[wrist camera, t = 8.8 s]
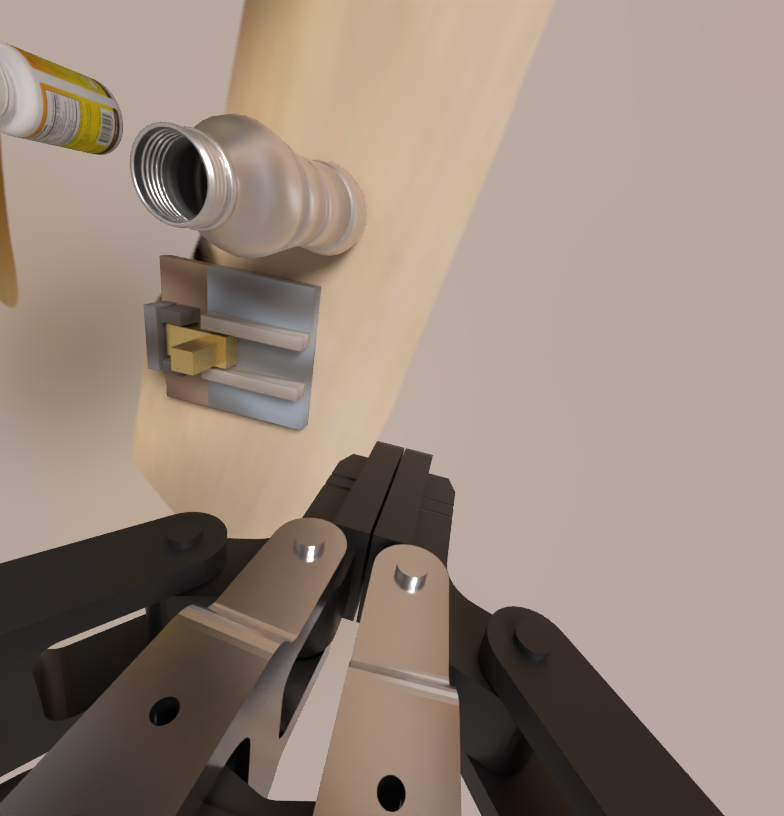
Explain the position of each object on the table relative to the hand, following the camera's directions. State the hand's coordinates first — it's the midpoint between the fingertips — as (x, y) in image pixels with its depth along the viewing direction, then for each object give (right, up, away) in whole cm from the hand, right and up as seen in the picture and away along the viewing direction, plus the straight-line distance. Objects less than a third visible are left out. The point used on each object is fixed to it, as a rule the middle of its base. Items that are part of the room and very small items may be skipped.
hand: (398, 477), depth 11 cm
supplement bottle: (-26, +27, +25) cm, 45 cm away
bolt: (-18, +8, +29) cm, 35 cm away
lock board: (-15, +8, +30) cm, 34 cm away
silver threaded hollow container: (-5, +18, +24) cm, 30 cm away
